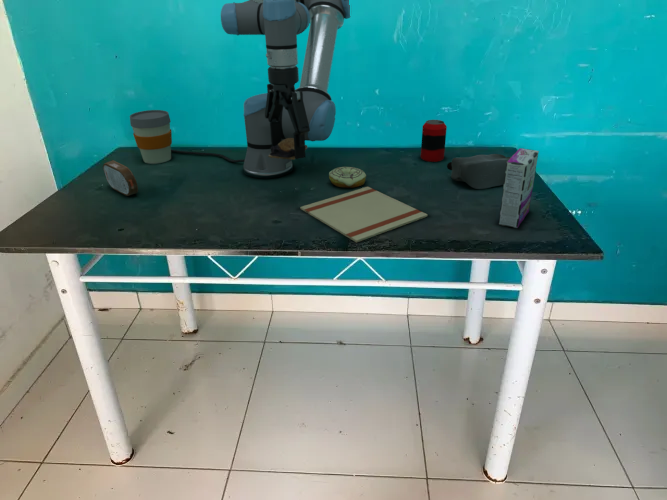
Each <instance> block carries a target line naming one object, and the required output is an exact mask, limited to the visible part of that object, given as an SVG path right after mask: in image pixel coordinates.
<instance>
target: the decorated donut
mask: <svg viewBox="0 0 667 500" xmlns="http://www.w3.org/2000/svg"><path fill="white" fill-rule="evenodd" d="M328 178H329V181H330V183H331V184H332V185H334V186H336V187H338V188H349V189H350V188H352V189H354V188H358V187H360V186H364V184H365V182H366V178H367V174H366V173H365V171H364V170H362V169H361V168H357V167H354V166H338V167H336V168H333V169H332V170H331V171H329V172H328Z"/></svg>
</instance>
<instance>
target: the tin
mask: <svg viewBox="0 0 667 500" xmlns="http://www.w3.org/2000/svg"><path fill="white" fill-rule="evenodd" d="M102 170H103V173H104V176H105V181H106V182H107V183H108V185H109V186H110V188H111V189H113V190H114V191H116V192H118V193H120V194H122V195H124V196H126V197H129V196H133V195H136V194H137V193H138V192H139V186H138V182H137V179H136V177H135V175H134V173H133V171H131V169H130V168H129V167H128V166H126V165H125V164H122V163H120V162H118V161H117V160H113V159H112V160H110V161H107V162H104V163H103V165H102Z"/></svg>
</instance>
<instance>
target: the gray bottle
mask: <svg viewBox="0 0 667 500" xmlns="http://www.w3.org/2000/svg"><path fill="white" fill-rule="evenodd" d="M510 158H511V156H507V157H506V156H505V155H503V154H499V153H491V154H475V155H473V156H466V157H462V156H461V157H453V158H452V159H451V161H450V162H448V163H447V165H446V168H447V170H449V171H451V174H450V178H451V179H452V180H453V181H456V182H465V183H466V184H467V185H468V186H469V187H470V188H472V189H474V190H475V189H476V190H485V189H490V188H493V187H499V186H504V179H505V172H506V164H507V161H508V160H509V159H510Z"/></svg>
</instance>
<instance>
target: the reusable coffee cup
mask: <svg viewBox="0 0 667 500" xmlns="http://www.w3.org/2000/svg"><path fill="white" fill-rule="evenodd" d="M171 121H172V120H171V117H170V114H169V111H167V110H163V109H150V110H149V109H148V110H141V111H136V112H134V113H131V114H130V115H129V122H130V123H129V124H130V127H131V128H132V131H133V133H132V134H133V138H134V141H135V144H136V147H137V148H138V149H139V152H140V154H141V157H142V160H143V162H144V163H145V164H151V165H156V164H161V163H167V162H169V161H170V160H172V152H171V150H172V144H173V138H172V134H173V133H172V129H171Z"/></svg>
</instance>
